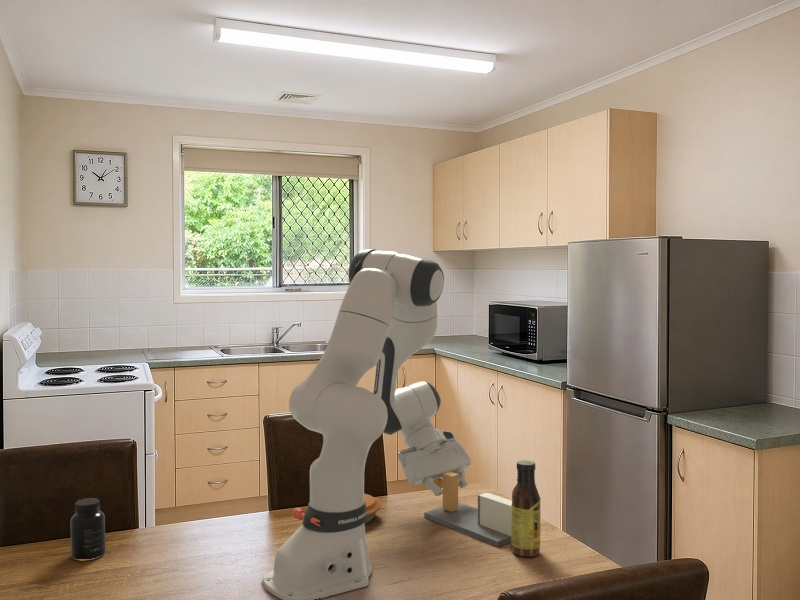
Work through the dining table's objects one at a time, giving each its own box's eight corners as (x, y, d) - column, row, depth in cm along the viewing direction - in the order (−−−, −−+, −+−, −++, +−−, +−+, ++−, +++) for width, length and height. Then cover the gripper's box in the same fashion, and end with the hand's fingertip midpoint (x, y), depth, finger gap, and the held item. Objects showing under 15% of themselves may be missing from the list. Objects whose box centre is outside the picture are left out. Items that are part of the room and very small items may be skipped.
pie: (306, 519, 170) (305, 500, 170) (350, 503, 182) (350, 484, 181) (350, 535, 160) (350, 514, 160) (394, 517, 172) (394, 497, 171)
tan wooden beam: (451, 511, 171) (451, 476, 170) (442, 508, 173) (442, 473, 172) (458, 509, 172) (458, 474, 172) (449, 506, 174) (449, 471, 174)
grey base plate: (498, 546, 153) (498, 510, 153) (424, 517, 171) (424, 484, 171) (531, 532, 161) (531, 498, 161) (457, 506, 179) (457, 475, 179)
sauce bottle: (540, 559, 146) (540, 468, 145) (510, 557, 148) (511, 466, 147) (540, 547, 153) (540, 459, 152) (511, 545, 154) (512, 457, 153)
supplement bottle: (66, 555, 149) (64, 501, 148) (97, 546, 154) (96, 493, 153) (79, 565, 144) (77, 509, 143) (111, 555, 149) (110, 501, 148)
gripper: (401, 444, 170) (428, 493, 163) (458, 431, 183) (485, 475, 177) (389, 458, 174) (415, 506, 167) (446, 444, 187) (472, 488, 180)
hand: (452, 490), depth 172 cm, fingers open, 7 cm apart
